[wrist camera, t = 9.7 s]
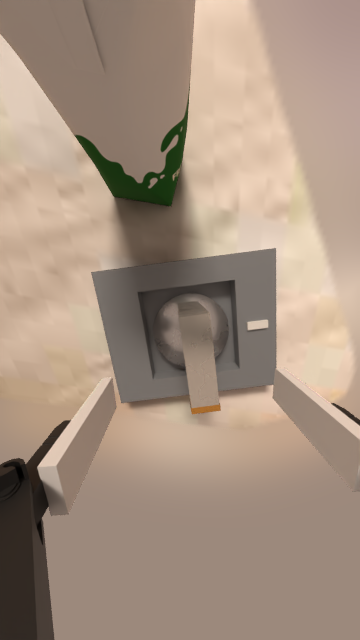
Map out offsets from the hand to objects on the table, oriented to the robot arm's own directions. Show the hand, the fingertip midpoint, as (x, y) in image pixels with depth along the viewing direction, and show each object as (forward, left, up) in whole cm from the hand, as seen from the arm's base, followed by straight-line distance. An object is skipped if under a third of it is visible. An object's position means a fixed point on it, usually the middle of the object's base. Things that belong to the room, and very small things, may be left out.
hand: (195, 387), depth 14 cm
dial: (+1, +2, -12) cm, 12 cm away
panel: (+1, +2, -12) cm, 12 cm away
